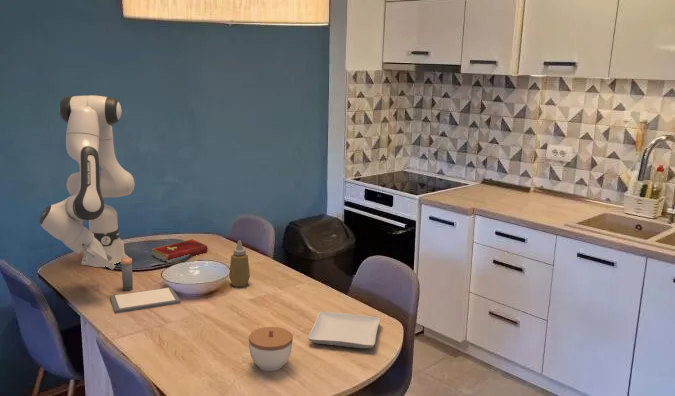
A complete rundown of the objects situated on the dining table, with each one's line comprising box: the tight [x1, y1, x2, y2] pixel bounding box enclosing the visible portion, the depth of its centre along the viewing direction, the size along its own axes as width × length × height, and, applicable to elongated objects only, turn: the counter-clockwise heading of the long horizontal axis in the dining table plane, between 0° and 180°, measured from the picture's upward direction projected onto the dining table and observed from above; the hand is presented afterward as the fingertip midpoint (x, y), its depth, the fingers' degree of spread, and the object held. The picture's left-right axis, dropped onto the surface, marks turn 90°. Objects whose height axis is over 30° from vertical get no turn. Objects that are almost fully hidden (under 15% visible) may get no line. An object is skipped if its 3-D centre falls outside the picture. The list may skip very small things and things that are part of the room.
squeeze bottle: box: [228, 240, 251, 288], centre depth 229 cm, size 8×8×18 cm
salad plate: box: [307, 311, 381, 349], centre depth 192 cm, size 21×21×3 cm
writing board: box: [109, 286, 181, 314], centre depth 213 cm, size 14×22×1 cm, turn 117°
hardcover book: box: [151, 238, 209, 260], centre depth 262 cm, size 12×21×4 cm, turn 138°
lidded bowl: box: [248, 326, 294, 372], centre depth 171 cm, size 13×13×11 cm
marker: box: [120, 256, 134, 292], centre depth 221 cm, size 4×4×12 cm
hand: (112, 263), depth 217 cm, fingers open, 8 cm apart
